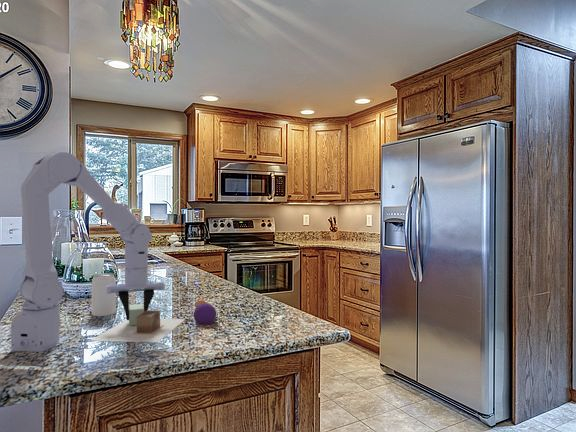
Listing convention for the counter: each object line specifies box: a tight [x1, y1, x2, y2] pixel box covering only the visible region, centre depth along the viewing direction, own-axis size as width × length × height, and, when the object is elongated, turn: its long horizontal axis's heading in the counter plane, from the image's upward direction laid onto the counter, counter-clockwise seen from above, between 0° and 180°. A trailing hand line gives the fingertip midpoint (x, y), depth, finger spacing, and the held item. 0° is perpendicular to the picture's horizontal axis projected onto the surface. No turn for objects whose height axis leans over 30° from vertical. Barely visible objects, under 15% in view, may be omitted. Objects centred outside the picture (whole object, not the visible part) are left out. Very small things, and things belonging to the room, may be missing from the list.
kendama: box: [193, 299, 217, 326], centre depth 116 cm, size 6×6×20 cm
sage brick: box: [129, 303, 144, 325], centre depth 109 cm, size 6×4×4 cm, turn 23°
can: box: [91, 272, 117, 317], centre depth 119 cm, size 6×6×12 cm
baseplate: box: [89, 318, 186, 343], centre depth 103 cm, size 20×16×1 cm
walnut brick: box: [137, 310, 161, 333], centre depth 103 cm, size 6×4×4 cm, turn 177°
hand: (136, 318), depth 109 cm, fingers closed on sage brick, 4 cm apart
